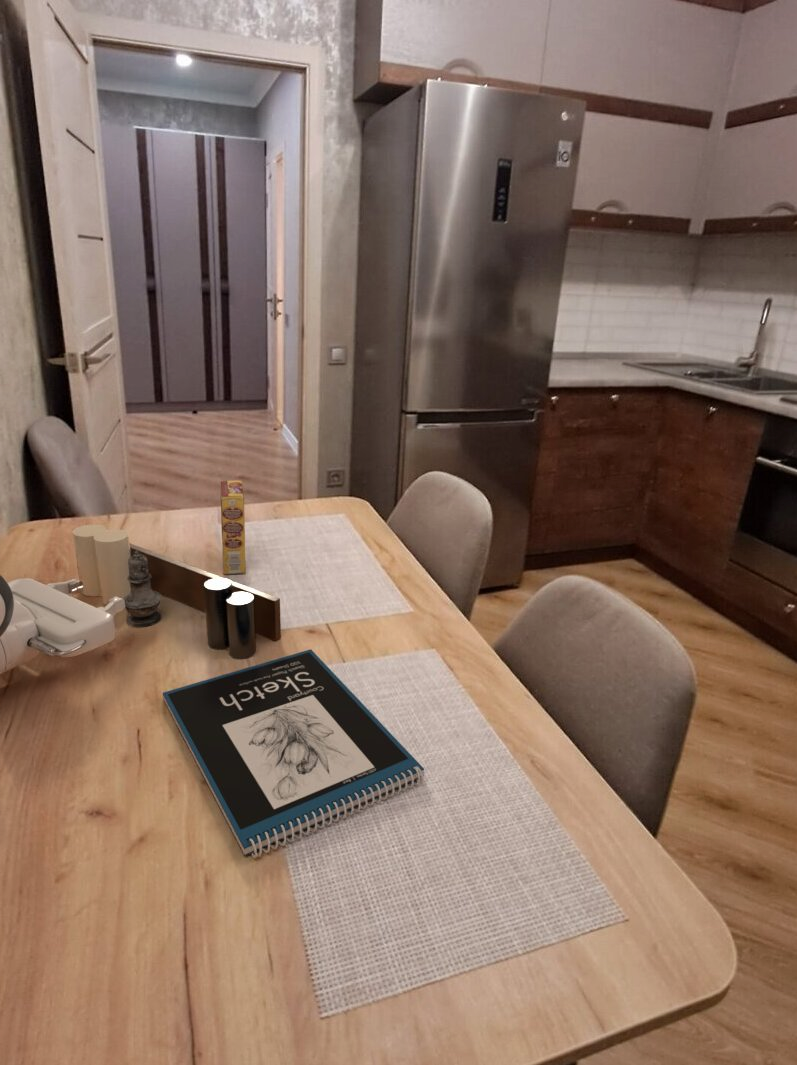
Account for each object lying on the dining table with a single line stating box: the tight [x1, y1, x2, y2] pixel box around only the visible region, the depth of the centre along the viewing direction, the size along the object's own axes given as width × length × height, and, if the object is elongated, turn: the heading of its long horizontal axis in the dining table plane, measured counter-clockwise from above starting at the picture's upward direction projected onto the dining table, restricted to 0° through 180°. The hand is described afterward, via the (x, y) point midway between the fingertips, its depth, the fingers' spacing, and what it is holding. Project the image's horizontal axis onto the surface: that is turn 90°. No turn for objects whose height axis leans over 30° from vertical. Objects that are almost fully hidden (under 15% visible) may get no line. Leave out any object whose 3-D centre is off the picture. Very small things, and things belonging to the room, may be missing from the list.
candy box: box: [219, 479, 246, 575], centre depth 123 cm, size 9×4×15 cm, turn 14°
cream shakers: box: [71, 523, 131, 606], centre depth 111 cm, size 11×5×12 cm, turn 59°
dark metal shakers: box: [204, 577, 257, 660], centre depth 98 cm, size 8×4×10 cm, turn 59°
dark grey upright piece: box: [123, 550, 163, 628], centre depth 104 cm, size 6×6×12 cm
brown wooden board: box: [129, 542, 282, 642], centre depth 110 cm, size 38×1×7 cm, turn 59°
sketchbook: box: [162, 648, 425, 860], centre depth 81 cm, size 22×30×2 cm
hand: (100, 592), depth 98 cm, fingers open, 8 cm apart
